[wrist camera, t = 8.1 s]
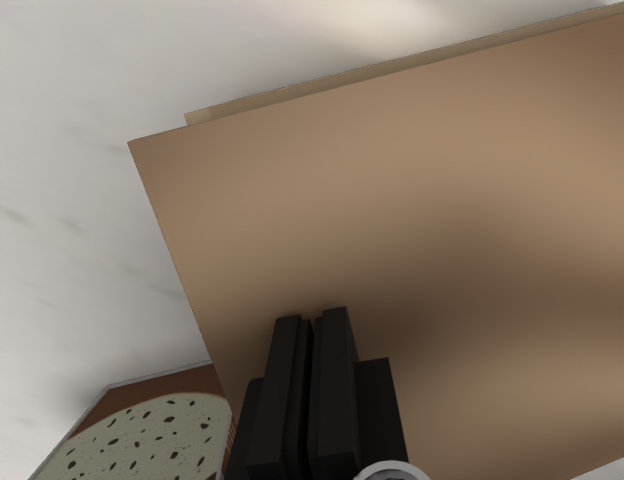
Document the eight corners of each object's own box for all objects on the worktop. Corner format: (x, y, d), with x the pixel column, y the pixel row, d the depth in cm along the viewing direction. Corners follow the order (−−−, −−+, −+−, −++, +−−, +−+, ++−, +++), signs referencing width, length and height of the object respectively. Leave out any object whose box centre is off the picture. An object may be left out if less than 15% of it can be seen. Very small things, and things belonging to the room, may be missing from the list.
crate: (604, 301, 22) (710, 394, 16) (306, 348, 24) (294, 446, 18) (608, 5, 17) (762, -33, 11) (235, 99, 19) (184, 114, 13)
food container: (132, 459, 29) (32, 645, 19) (87, 390, 27) (-49, 560, 17) (303, 424, 27) (282, 614, 17) (268, 345, 24) (223, 513, 15)
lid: (723, 393, 15) (749, 407, 15) (297, 567, 13) (302, 595, 13) (780, -29, 11) (823, -39, 10) (133, 139, 9) (125, 142, 8)
